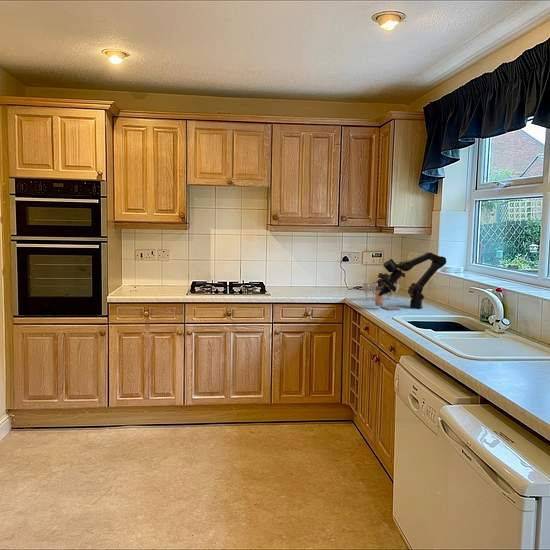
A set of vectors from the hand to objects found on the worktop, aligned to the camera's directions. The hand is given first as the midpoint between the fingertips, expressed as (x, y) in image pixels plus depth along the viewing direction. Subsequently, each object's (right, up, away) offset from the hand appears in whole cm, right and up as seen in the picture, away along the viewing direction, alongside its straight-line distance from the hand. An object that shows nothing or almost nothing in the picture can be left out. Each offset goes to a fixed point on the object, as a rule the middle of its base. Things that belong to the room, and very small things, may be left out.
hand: (377, 295), depth 331 cm
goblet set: (+9, -6, +35) cm, 37 cm away
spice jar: (+1, -7, +1) cm, 7 cm away
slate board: (+9, -9, +3) cm, 13 cm away
